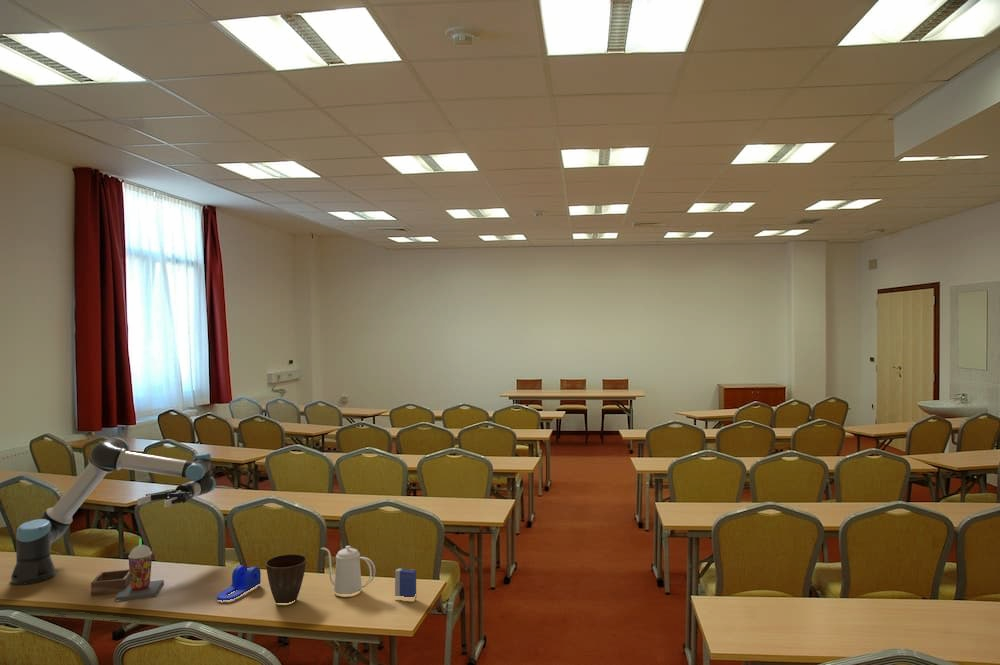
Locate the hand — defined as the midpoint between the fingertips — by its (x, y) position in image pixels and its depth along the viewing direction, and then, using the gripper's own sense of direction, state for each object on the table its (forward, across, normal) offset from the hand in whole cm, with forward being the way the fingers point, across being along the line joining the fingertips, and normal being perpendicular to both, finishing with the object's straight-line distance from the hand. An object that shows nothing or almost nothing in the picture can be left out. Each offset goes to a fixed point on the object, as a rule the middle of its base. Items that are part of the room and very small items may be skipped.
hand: (151, 503), depth 262 cm
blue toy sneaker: (+6, -46, -32) cm, 57 cm away
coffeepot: (-5, -89, -32) cm, 95 cm away
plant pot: (+8, -70, -32) cm, 78 cm away
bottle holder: (+12, +7, -32) cm, 35 cm away
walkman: (-4, -115, -32) cm, 119 cm away
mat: (+13, -7, -32) cm, 35 cm away
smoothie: (+13, -7, -31) cm, 34 cm away
